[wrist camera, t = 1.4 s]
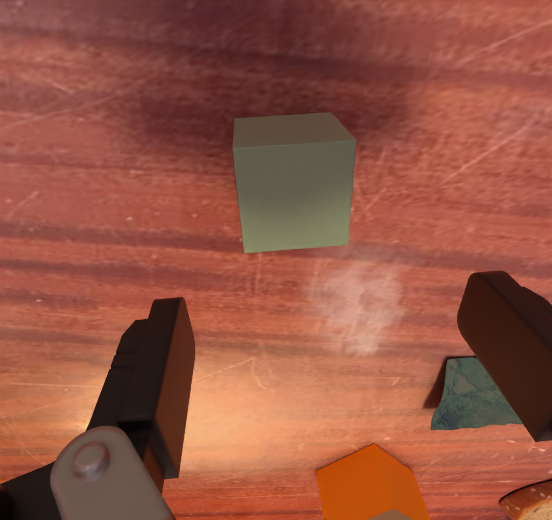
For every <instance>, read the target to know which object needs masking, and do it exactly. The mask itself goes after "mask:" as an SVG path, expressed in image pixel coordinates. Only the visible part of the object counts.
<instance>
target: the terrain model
mask: <svg viewBox="0 0 552 520" xmlns="http://www.w3.org/2000/svg"><path fill="white" fill-rule="evenodd" d="M511 423H512V424H523V423H522V422H521V420H520V419H519V417H518V416H517V414H516V413H515V411H514V410H513V409H512V407H511V406H510V404H509V403H508V401H507V400H506V398H505V397H504V396H503V394H502V393H501V391H500V390H499V388H498V387H497V385H496V384H495V383H494V381H493V380H492V378H491V377H490V375H489V374H488V372H487V371H486V370H485V368H484V367H483V365H482V364H481V362H480V361H479V359H478V358H473V357H471V358H456V359H449V360H448V361H447V365H446V375H445V384H444V391H443V395H442V400H441V402H440V404H439V406H438V408H437V409H436V410H435V412H434V415H433V417H432V421H431V430H454V429H459V428H479V427H485V426H487V425H506V424H511Z"/></svg>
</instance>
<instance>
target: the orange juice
mask: <svg viewBox="0 0 552 520" xmlns="http://www.w3.org/2000/svg"><path fill="white" fill-rule="evenodd" d="M316 474H317V480H318V487H319V493H320V499H321V505H322V512H323V518H324V520H431V519H430V517H429V514H428V511H427V509H426V506H425V503H424V500H423V498H422V495H421V492H420V490H419V487H418V484H417V482H416V479H415V476H414V473H413V471H412V470H410V469H409V468H407V467H406V466H405V465H403V464H402V463H400V462H399V461H398V460H396V459H395V458H393V457H392V456H391V455H389V454H388V453H386V452H385V451H384V450H382V449H381V448H379V447H378V446H377V445H375V444H372V445H370V446H367V447H365V448H363V449H361V450H359V451H357V452H355V453H353V454H351V455H349V456H346V457H344V458H342V459H340V460H338V461H336V462H334V463H332V464H330V465H328V466H325V467H323V468H321V469H319V470H317V471H316Z"/></svg>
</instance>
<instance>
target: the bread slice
mask: <svg viewBox="0 0 552 520" xmlns="http://www.w3.org/2000/svg"><path fill="white" fill-rule="evenodd" d="M500 507H501V508H502V509H503V510H504V511H505V512H506V513H507V514H508V515H509V517H510V518H511V519H512V520H552V481H548V482H543V483H540V484H536V485H532V486H530V487H527V488H524V489H521V490H519V491H516V492H514V493H512V494H510V495H509V496H506V497H505V498H504V499H503V500H502V501H501V502H500Z"/></svg>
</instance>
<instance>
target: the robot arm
mask: <svg viewBox="0 0 552 520" xmlns="http://www.w3.org/2000/svg"><path fill="white" fill-rule="evenodd" d="M457 322H458V327H459V330H460V333H461V335H462V336H463V338H464V339H465V341H466V342H467V343H468V345H469V346H470V348H471V349H472V351H473V352H474V354H475V355H476V357H477V358H478V359H479V361H480V362H481V364H482V365H483V367H484V368H485V370H486V371H487V372H488V374H489V375H490V377H491V378H492V380H493V381H494V383H495V384H496V385H497V387H498V388H499V390H500V391H501V393H502V394H503V396H504V397H505V398H506V400H507V401H508V403H509V404H510V406H511V407H512V409H513V410H514V411H515V413H516V414H517V416H518V417H519V419H520V420H521V422H522V423H523V424H524V426H525V427H526V429H527V430H528V432H529V433H530V435H531V436H532V438H533V439H534V440H535V442H539V441H548V440H552V305H551V304H550V303H549V302H548V301H547V300H546V299H545V298H543V297H541V296H540V295H538V294H536V293H534V292H532V291H531V290H529V289H527V288H525V287H521V286H520V285H519V284H518V283H517V282H516V281H515V280H514V279H513V278H512V277H511V276H510V275H509V274H508V273H506V272H505V271H489V272H477V273H473V274H471V275H470V277H469V279H468V282H467V285H466V288H465V292H464V295H463V298H462V301H461V304H460V308H459V311H458V315H457ZM194 361H195V341H194V335H193V331H192V327H191V323H190V319H189V315H188V311H187V306H186V303H185V300H184V298H183V297H177V298H166V299H155V300H154V302H153V304H152V307H151V310H150V314H149V317H148V319H143V320H135V321H134V323H133V324H132V325H131V326H130V327H129V328H128V329H127V330H126V332H125V333H124V334H123V335H122V337H121V340H120V343H119V345H118V348H117V351H116V355H115V356H114V359H113V361H112V364H111V369H109V372H108V375H107V377H106V380H105V383H104V385H103V388H102V391H101V393H100V396H99V399H98V401H97V404H96V407H95V409H94V412H93V415H92V417H91V420H90V423H89V425H88V427H87V429H86V431H85V432H84V433H82V434H80V435H79V436H77V437H76V438H74V439H73V440H72V441H71V442H70V443H69V444H67V446H66V447H65V448H64V449H63V450H62V451H61V453H60V454H59V456H58V457H57V459H56V461H54V462H52V463H50V464H48V465H46V466H44V467H41V468H39V469H36V470H34V471H32V472H29V473H27V474H24V475H22V476H19V477H17V478H14V479H12V480H9V481H7V482H4V483H2V484H0V520H176V519H175V517H174V515H173V514H172V512H171V510H170V509H169V507H168V505H167V504H166V502H165V500H164V498H163V497H162V490H163V484H164V479H171V478H179V470H180V463H181V456H182V448H183V441H184V434H185V427H186V419H187V412H188V405H189V398H190V390H191V383H192V376H193V369H194Z"/></svg>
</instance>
